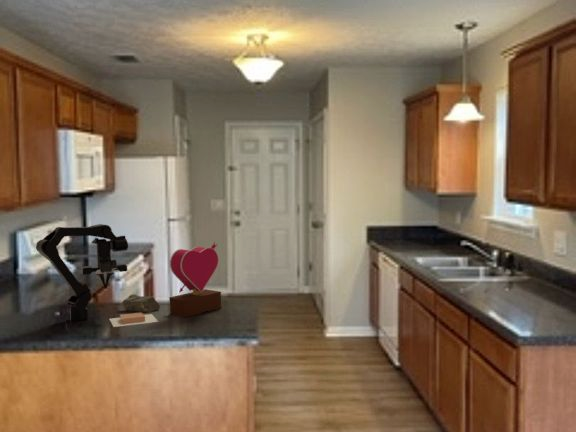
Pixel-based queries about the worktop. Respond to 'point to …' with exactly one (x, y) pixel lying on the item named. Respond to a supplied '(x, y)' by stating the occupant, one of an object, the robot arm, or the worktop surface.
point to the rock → (140, 303)
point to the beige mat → (148, 319)
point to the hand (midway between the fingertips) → (105, 288)
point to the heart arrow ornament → (194, 281)
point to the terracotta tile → (132, 318)
